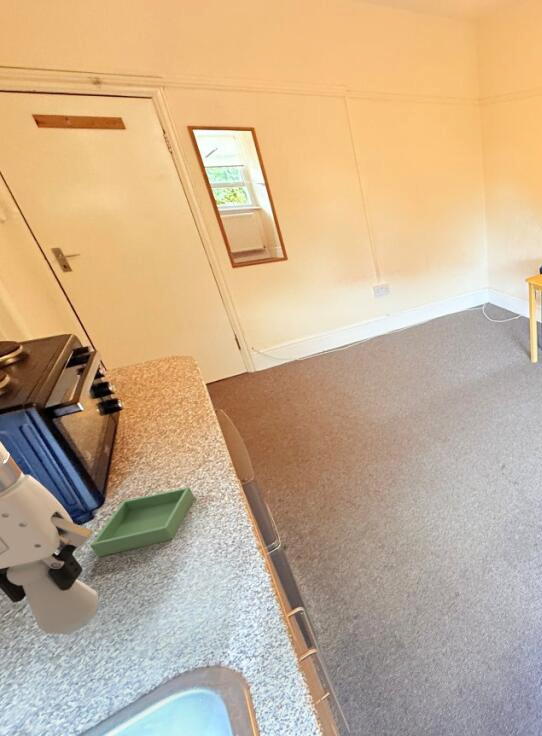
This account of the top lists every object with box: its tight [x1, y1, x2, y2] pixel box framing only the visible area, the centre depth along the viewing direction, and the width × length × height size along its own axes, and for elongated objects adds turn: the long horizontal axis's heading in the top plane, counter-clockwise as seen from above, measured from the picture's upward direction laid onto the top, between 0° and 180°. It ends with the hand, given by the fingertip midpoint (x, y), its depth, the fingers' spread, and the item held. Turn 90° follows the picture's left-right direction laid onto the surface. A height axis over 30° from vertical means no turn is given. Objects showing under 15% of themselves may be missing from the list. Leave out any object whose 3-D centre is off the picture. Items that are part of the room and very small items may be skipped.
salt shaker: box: [7, 551, 99, 635], centre depth 54 cm, size 6×6×13 cm
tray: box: [89, 486, 196, 558], centre depth 79 cm, size 12×11×3 cm
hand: (49, 585), depth 53 cm, fingers closed on salt shaker, 4 cm apart
